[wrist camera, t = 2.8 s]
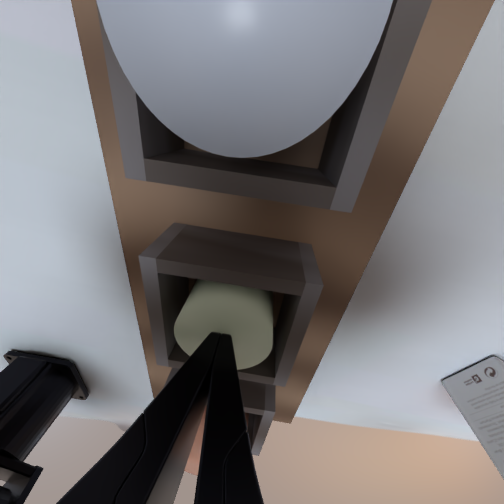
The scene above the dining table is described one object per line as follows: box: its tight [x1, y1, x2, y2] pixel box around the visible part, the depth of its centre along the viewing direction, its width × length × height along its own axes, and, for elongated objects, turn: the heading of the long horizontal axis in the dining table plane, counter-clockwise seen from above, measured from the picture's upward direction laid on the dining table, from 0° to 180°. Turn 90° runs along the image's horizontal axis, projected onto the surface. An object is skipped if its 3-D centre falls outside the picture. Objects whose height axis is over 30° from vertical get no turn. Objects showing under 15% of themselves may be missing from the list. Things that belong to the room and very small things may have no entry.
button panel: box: [71, 0, 495, 456], centre depth 11 cm, size 28×12×5 cm, turn 173°
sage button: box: [174, 279, 274, 370], centre depth 10 cm, size 4×4×3 cm
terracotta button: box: [184, 406, 249, 476], centre depth 13 cm, size 4×4×3 cm
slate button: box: [96, 0, 393, 158], centre depth 4 cm, size 4×4×3 cm
